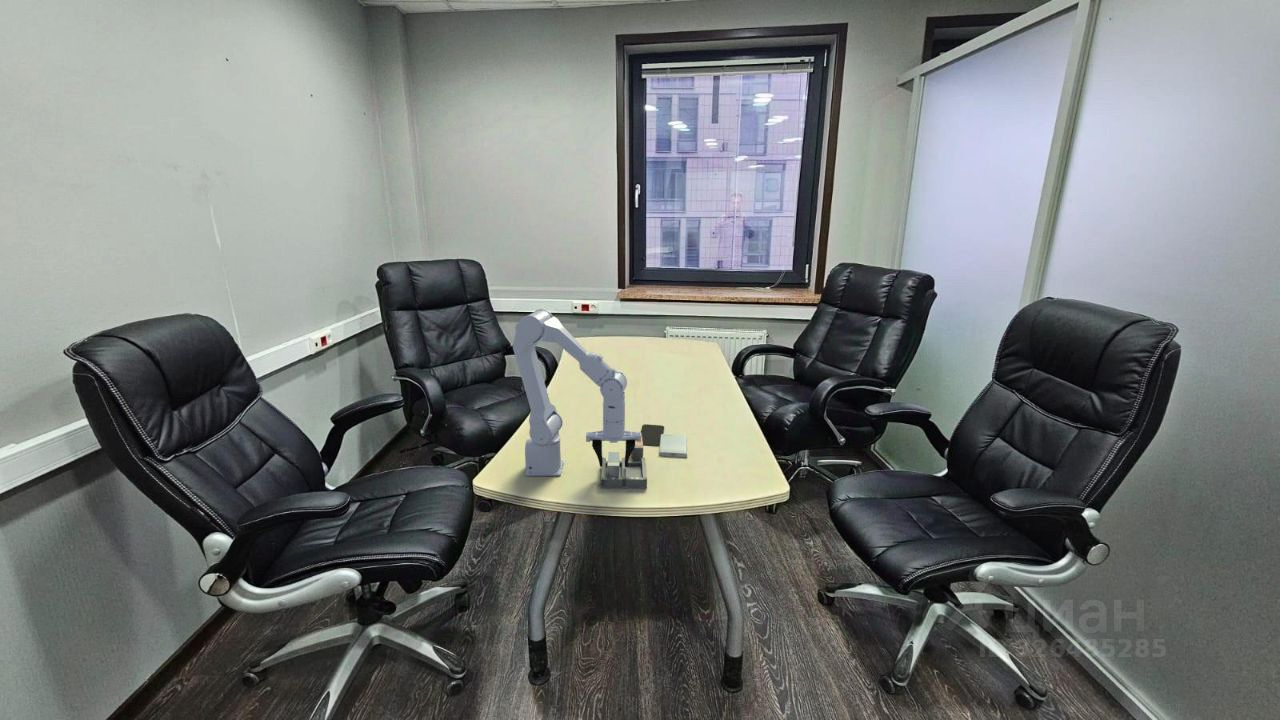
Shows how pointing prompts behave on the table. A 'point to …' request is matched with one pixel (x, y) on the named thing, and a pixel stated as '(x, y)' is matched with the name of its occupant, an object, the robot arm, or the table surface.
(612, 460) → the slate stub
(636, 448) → the terracotta stub
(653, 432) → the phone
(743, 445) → the table surface
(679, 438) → the hard drive
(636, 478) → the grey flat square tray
